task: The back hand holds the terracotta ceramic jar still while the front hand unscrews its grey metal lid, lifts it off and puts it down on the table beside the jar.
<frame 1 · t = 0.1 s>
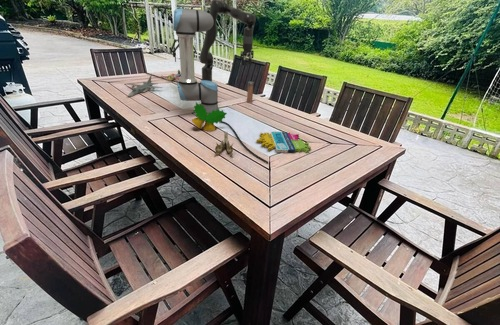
front hand: (184, 61, 211), 28 cm above the table, tool pointing down, fingers open, 13 cm apart
back hand: (246, 64, 211), 29 cm above the table, tool pointing down, fingers open, 8 cm apart
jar: (249, 101, 222), on the table
jawbone: (224, 151, 138), on the table
lid: (250, 82, 214), point 16 cm above the table, screwed on, not yet turned
airplane: (143, 91, 230), on the table
ornament: (209, 128, 165), on the table
toy: (175, 78, 280), on the table
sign: (281, 143, 152), on the table
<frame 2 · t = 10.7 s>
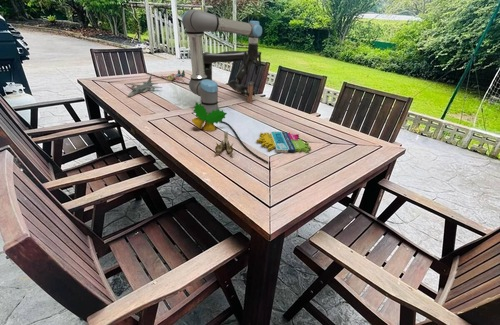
front hand: (251, 74, 211), 23 cm above the table, tool pointing down, fingers open, 7 cm apart
back hand: (251, 94, 217), 7 cm above the table, tool horizontal, fingers closed on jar, 4 cm apart
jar: (249, 101, 222), on the table, touching back hand
everything else where it was.
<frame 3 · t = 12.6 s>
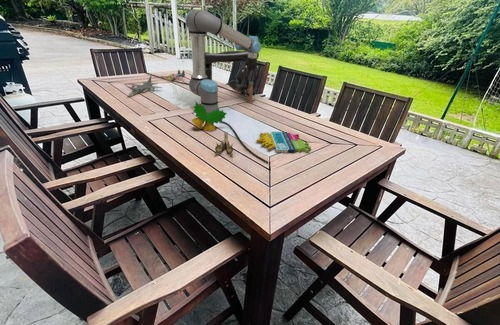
front hand: (250, 87, 216), 12 cm above the table, tool pointing down, fingers closed on lid, 5 cm apart
back hand: (251, 94, 217), 7 cm above the table, tool horizontal, fingers closed on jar, 4 cm apart
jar: (249, 101, 222), on the table, touching back hand
lid: (250, 82, 214), point 16 cm above the table, screwed on, not yet turned, touching front hand
everything else where it was.
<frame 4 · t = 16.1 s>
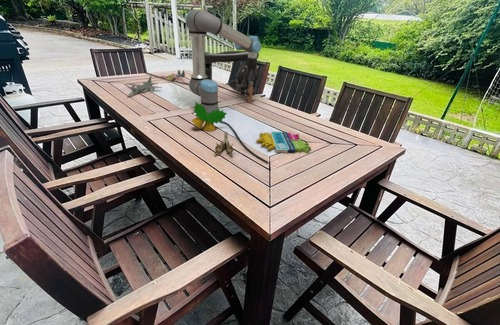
front hand: (250, 87, 216), 12 cm above the table, tool pointing down, fingers closed on lid, 5 cm apart
back hand: (251, 94, 217), 7 cm above the table, tool horizontal, fingers closed on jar, 4 cm apart
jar: (249, 101, 222), on the table, touching back hand
lid: (250, 82, 214), point 16 cm above the table, turned 113° so far, risen 0.2 cm, still on its thread, touching front hand
everything else where it was.
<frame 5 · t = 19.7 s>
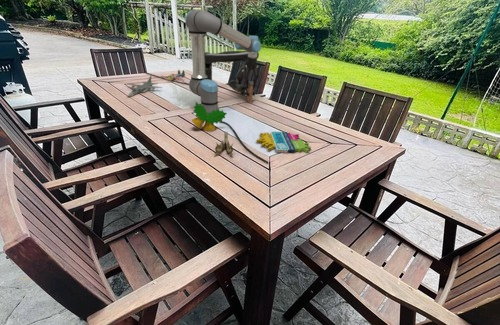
front hand: (250, 87, 216), 12 cm above the table, tool pointing down, fingers closed on lid, 5 cm apart
back hand: (251, 94, 217), 7 cm above the table, tool horizontal, fingers closed on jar, 4 cm apart
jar: (249, 101, 222), on the table, touching back hand
lid: (250, 82, 214), point 16 cm above the table, turned 226° so far, risen 0.3 cm, still on its thread, touching front hand
everything else where it was.
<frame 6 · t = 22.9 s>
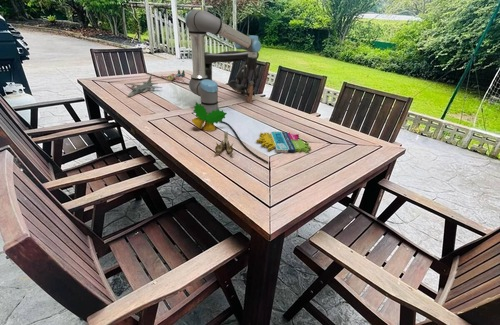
front hand: (250, 87, 216), 12 cm above the table, tool pointing down, fingers closed on lid, 5 cm apart
back hand: (251, 94, 217), 7 cm above the table, tool horizontal, fingers closed on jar, 4 cm apart
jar: (249, 101, 222), on the table, touching back hand
lid: (250, 82, 214), point 16 cm above the table, turned 340° so far, risen 0.5 cm, still on its thread, touching front hand
everything else where it was.
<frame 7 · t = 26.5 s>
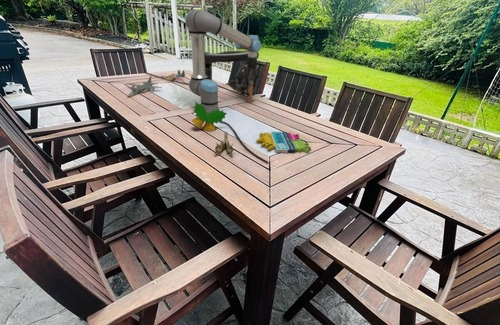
front hand: (250, 86, 216), 13 cm above the table, tool pointing down, fingers closed on lid, 5 cm apart
back hand: (251, 94, 217), 7 cm above the table, tool horizontal, fingers closed on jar, 4 cm apart
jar: (249, 101, 222), on the table, touching back hand
lid: (250, 81, 214), point 17 cm above the table, turned 453° so far, risen 0.7 cm, still on its thread, touching front hand
everything else where it was.
when the front hand's fingers open (0 cm above the table, at t = 33.8 s): lid drops 2 cm, point 2 cm above the table.
when the back hand's fingers open (7 cm above the table, at t = 34.4 s): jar stays where it is, on the table.
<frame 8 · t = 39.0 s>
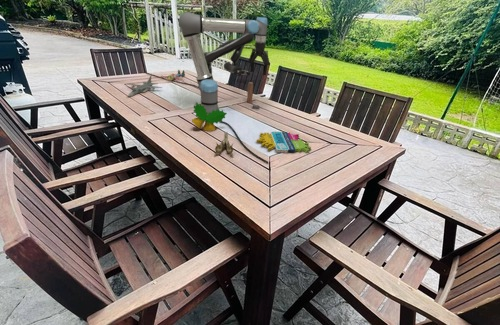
front hand: (258, 73, 194), 27 cm above the table, tool pointing down, fingers open, 13 cm apart
back hand: (245, 74, 221), 20 cm above the table, tool horizontal, fingers open, 8 cm apart
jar: (249, 101, 222), on the table
lid: (255, 106, 207), point 2 cm above the table, off its thread
everything else where it was.
at the end: lid came off its thread; lid point 1.8 cm above the table; the front hand is holding nothing; the back hand is holding nothing; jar tilted 0°; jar moved 0.0 cm from its start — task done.
